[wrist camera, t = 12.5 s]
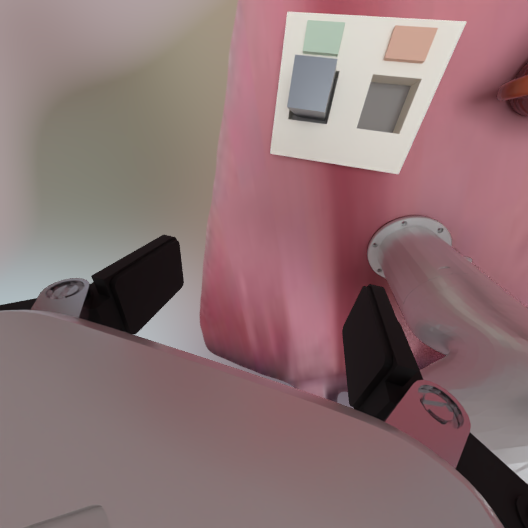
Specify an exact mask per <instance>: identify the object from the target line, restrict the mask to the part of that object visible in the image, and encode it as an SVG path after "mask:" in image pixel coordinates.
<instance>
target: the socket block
mask: <svg viewBox="0 0 528 528" xmlns="http://www.w3.org/2000/svg"><path fill="white" fill-rule="evenodd" d="M465 24H466V21H447V20H429V19H411V18H393V17H374V16H356V15H338V14H320V13H301V12H287V20H286V28H285V36H284V44H283V52H282V60H281V69H280V77H279V85H278V93H277V101H276V109H275V117H274V125H273V133H272V142H271V150H270V154H275V155H282V156H288V157H294V158H300V159H306V160H313V161H319V162H325V163H331V164H337V165H344V166H350V167H356V168H362V169H368V170H375V171H381V172H387V173H393V174H399V172H400V170H401V168H402V166H403V163H404V161H405V159H406V157H407V154H408V152H409V150H410V148H411V145H412V143H413V141H414V139H415V136H416V134H417V132H418V130H419V127H420V125H421V123H422V121H423V118H424V116H425V114H426V112H427V109H428V107H429V105H430V103H431V100H432V98H433V96H434V94H435V91H436V89H437V87H438V85H439V83H440V80H441V78H442V76H443V74H444V71H445V69H446V67H447V65H448V62H449V60H450V58H451V56H452V53H453V51H454V49H455V47H456V44H457V42H458V40H459V38H460V35H461V33H462V31H463V29H464V26H465ZM295 55H304V56H314V57H323V58H333V59H337V66H336V72H335V78H334V85H333V89H332V93H331V97H330V101H329V105H328V109H327V114H326V118H325V121H321V120H314V119H308V118H301V117H297V116H296V115H295V114H294V113H293V112H292V111H291V110H290V109H289V108H288V107H287V104H288V97H289V91H290V85H291V78H292V72H293V65H294V59H295Z"/></svg>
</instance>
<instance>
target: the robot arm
mask: <svg viewBox="0 0 528 528" xmlns="http://www.w3.org/2000/svg"><path fill="white" fill-rule="evenodd" d="M403 221H404V222H403ZM402 222H403V223H402ZM374 243H375V244H374ZM367 257H368V261H369V264H370V266H371V267H372V269H373V270H374V271H375V272H376V273H377V274H378V275H380V276H382V277H384V278H386V279H387V281H388V284H389V286H390V288H391V290H392V292H393V294H394V297H395V299H396V301H397V303H398V305H399V308H400V310H401V312H402V314H403V316H404V318H405V320H406V323H407V325H408V326H409V328H410V330H411V331H412V332H413V334H414V335H415V336H416V337H417V338H418V339H419V340H420V341H422V342H423V343H424V344H426V345H427V346H429V347H431V348H433V349H434V350H436V351H438V352H441V353H443V354H445V355H447V356H445V357H444V358H442V359H440V360H438V361H437V362H435V363H432V364H430V365H429V366H428V367H426V368H423V369H421V370H419V368H418V365H417V363H416V361H415V358H414V356H413V353H412V351H411V349H410V346H409V344H408V341H407V339H406V337H405V334H404V332H403V329H402V327H401V325H400V323H399V322H398V321H397V318H396V316H395V314H394V311H393V309H392V306H391V304H390V301H389V299H388V297H387V294H386V292H385V289H384V288H383V287H380V286H375V285H371V284H369V285H368V286H367V287H366V286H364V287H363V288H362V290H361V292H360V294H359V296H358V298H357V300H356V302H355V304H354V306H353V308H352V310H351V312H350V314H349V316H348V318H347V320H346V322H345V324H344V326H343V331H342V334H343V344H344V355H345V365H346V376H347V386H348V397H349V404H350V406H352V407H354V409H353V408H350V407H347V406H344V405H342V404H339V403H336V402H333V401H330V400H327V399H325V398H322V397H319V396H316V395H313V394H310V393H308V392H305V391H302V390H299V389H296V388H293V387H290V386H287V385H284V384H281V383H278V382H275V381H272V380H269V379H266V378H263V377H260V376H257V375H254V374H251V373H248V372H245V371H242V370H239V369H236V368H233V367H230V366H227V365H224V364H221V363H218V362H215V361H212V360H209V359H206V358H203V357H200V356H197V355H194V354H191V353H188V352H185V351H182V350H178V349H175V348H172V347H169V346H166V345H163V344H160V343H157V342H154V341H151V340H148V339H145V338H141V337H138V336H135V335H133V334H136V333H137V332H138V331H139V330H140V329H141V328H142V327H143V326H144V325H145V324H146V323H147V322H148V321H149V320H150V319H151V318H152V317H153V316H154V315H155V314H156V313H157V312H158V311H159V310H160V309H161V308H162V307H163V306H164V305H165V304H166V303H167V302H168V301H169V300H170V299H171V298H172V297H173V296H174V295H175V294H176V293H177V292H178V291H179V290H180V289H181V288H182V286H183V283H184V281H183V272H182V262H181V254H180V245H179V242H178V241H177V239H176V238H175V237H171V236H167V235H162V236H160V237H159V238H157V239H155V240H153V241H152V242H150V243H148V244H146V245H145V246H143V247H141V248H139V249H138V250H136V251H134V252H132V253H131V254H129V255H127V256H125V257H124V258H122V259H120V260H118V261H117V262H115V263H113V264H111V265H110V266H108V267H106V268H104V269H103V270H101V271H99V272H97V273H96V274H94V275H92V279H93V281H94V282H93V283H92V284H89V282H88V281H87V280H85V279H81V278H70V279H65V280H61V281H59V282H55V283H53V284H51V285H49V286H48V287H46V288H45V289H44V290H43V291H42V292H41V293H40V294H39V296H38V298H36V299H30V300H26V301H20V302H15V303H9V304H5V305H0V528H528V308H527V307H526V306H525V305H523V304H522V303H521V302H519V301H518V300H517V299H515V298H514V297H513V296H511V295H510V294H509V293H508V292H506V291H505V290H504V289H503V288H502V287H500V286H499V285H498V284H497V283H495V282H494V281H493V280H492V279H490V278H489V277H488V276H487V275H486V274H484V273H483V272H482V271H481V270H479V269H478V268H477V267H476V266H475V265H473V264H472V263H471V262H472V258H470V257H466V256H462V255H461V254H460V253H459V252H457V251H456V250H455V249H454V248H453V247H452V239H451V235H450V233H449V231H448V230H447V228H446V227H445V226H443V225H442V224H441V223H440V222H438V221H437V220H435V219H432V218H429V217H425V216H406V217H402V218H399V219H395V220H393V221H391V222H389V223H387V224H386V225H384V226H383V227H381V228H380V229H379V230H378V231H377V232H376V233H375V234H374V236H373V237H372V239H371V241H370V243H369V245H368V249H367ZM379 268H380V269H379Z"/></svg>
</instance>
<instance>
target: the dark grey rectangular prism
mask: <svg viewBox="0 0 528 528" xmlns="http://www.w3.org/2000/svg"><path fill="white" fill-rule="evenodd" d="M336 66H337V59H333V58H323V57H314V56H304V55H295V59H294V65H293V72H292V78H291V85H290V91H289V97H288V104H287V107H288V108H289V109H290V110H291V111H292V112H293V113H294V114H295V115H296V116H297V117H301V118H308V119H314V120H321V121H325V118H326V114H327V109H328V105H329V101H330V97H331V93H332V89H333V85H334V78H335V72H336Z"/></svg>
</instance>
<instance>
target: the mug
mask: <svg viewBox="0 0 528 528" xmlns="http://www.w3.org/2000/svg"><path fill="white" fill-rule="evenodd" d="M509 99H510V104H511V106H512V108H513V109H514V110H515V111H516V112H517V113H519V114H521V115H524V116H528V62H527V63H526V64H525V66H524V67H523V68H522V69H521V70H520V72H519V73H518V75H517V76H516V78H515V79H514V80H511V81H509V82H506V83H504V84H503V85H501V87H500V88H499V90H498V94H497V100H499V101H504V100H509Z"/></svg>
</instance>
